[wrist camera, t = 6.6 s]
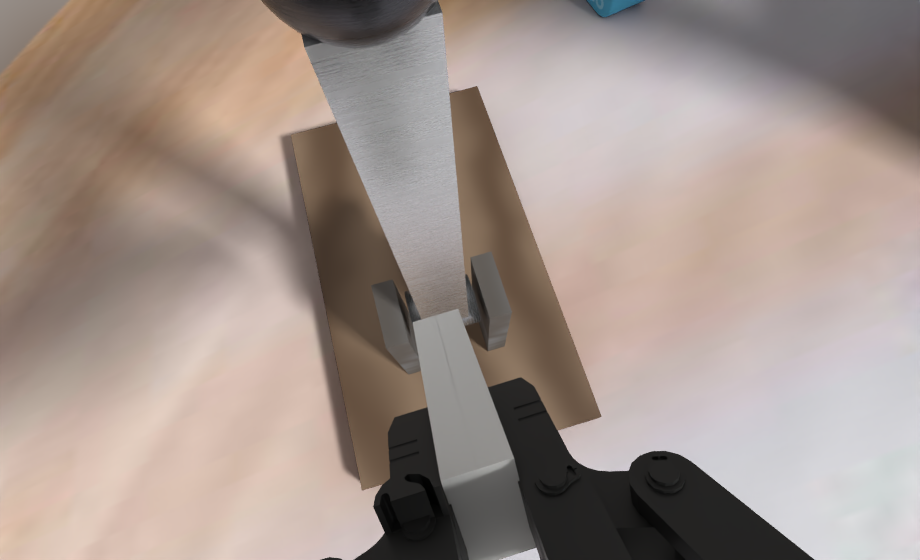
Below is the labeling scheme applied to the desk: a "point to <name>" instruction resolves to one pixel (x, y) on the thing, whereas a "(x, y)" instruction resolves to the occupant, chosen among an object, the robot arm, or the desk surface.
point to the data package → (611, 6)
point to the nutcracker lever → (395, 132)
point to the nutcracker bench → (382, 289)
